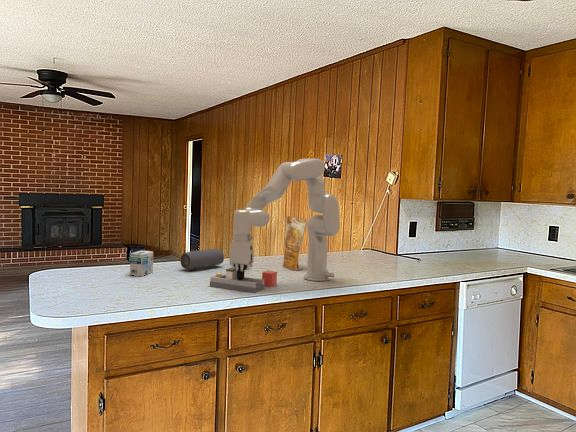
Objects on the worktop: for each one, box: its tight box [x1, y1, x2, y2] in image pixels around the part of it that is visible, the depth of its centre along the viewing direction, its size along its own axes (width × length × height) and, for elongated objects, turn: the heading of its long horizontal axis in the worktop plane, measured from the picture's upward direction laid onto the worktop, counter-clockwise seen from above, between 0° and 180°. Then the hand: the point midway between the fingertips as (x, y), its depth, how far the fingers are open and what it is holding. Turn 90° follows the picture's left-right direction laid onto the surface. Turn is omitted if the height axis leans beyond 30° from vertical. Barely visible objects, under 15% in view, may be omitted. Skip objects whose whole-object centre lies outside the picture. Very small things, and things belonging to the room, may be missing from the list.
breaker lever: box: [225, 267, 237, 280], centre depth 202 cm, size 3×6×6 cm, turn 157°
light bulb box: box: [129, 250, 154, 277], centre depth 220 cm, size 11×7×11 cm, turn 168°
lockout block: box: [261, 270, 278, 288], centre depth 208 cm, size 5×5×6 cm
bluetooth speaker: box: [179, 248, 225, 271], centre depth 239 cm, size 23×9×10 cm, turn 141°
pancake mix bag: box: [282, 216, 308, 271], centre depth 250 cm, size 7×19×28 cm, turn 26°
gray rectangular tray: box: [209, 272, 266, 294], centre depth 201 cm, size 22×10×5 cm, turn 67°
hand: (240, 279), depth 200 cm, fingers closed
